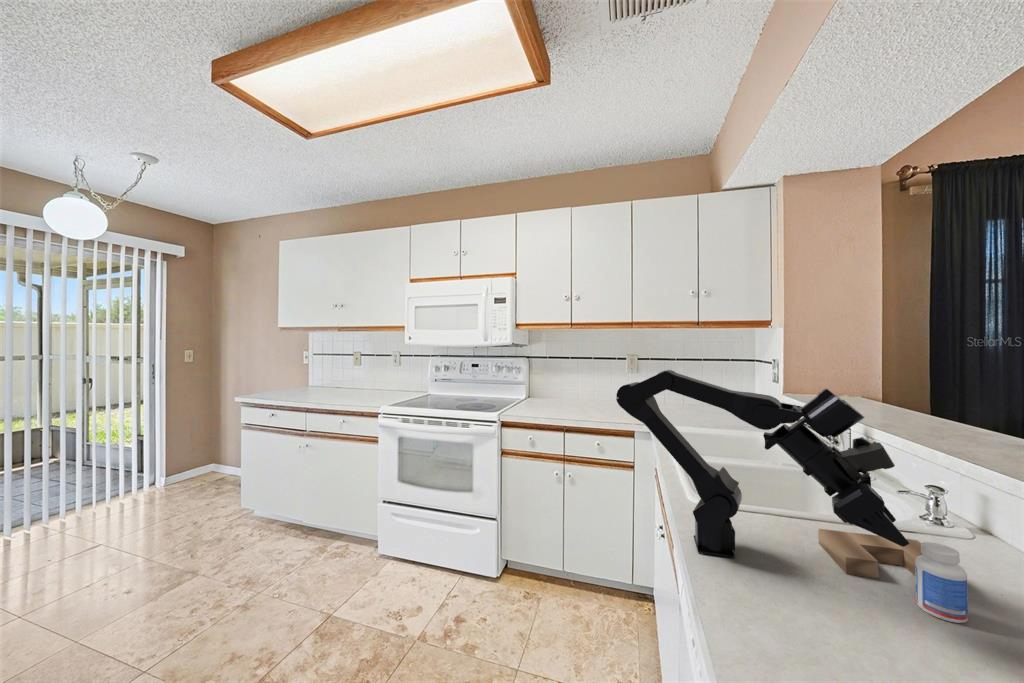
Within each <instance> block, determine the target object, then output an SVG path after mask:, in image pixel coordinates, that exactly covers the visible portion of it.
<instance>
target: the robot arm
mask: <svg viewBox="0 0 1024 683" xmlns="http://www.w3.org/2000/svg"><path fill="white" fill-rule="evenodd" d="M664 391H670V392H673V393H676V394H678V395H681V396H685V397H687V398H690V399H693V400H696V401H698V402H702V403H705V404H707V405H711V406H713V407H716V408H719V409H723V410H725V411H726V412H729V413H730V414H731V415H733V416H735V417H737V419H739V420H741V421H743V422H745V423H747V424H749V425H751V426H753V427H754V428H756V429H759V430H763V431H765V432H764V433H763V435H762V436H763V439H764V449H765V450H767V451H768V450H771V448H773V447H774V446H776V445H777V446H778V447H779V448H780V449H782V450H783V451H784V452H785V454H787V455H788V456H789V457H790V458H791V459H792V460H793V461H795V462H796V463H797V464H798V465H799V466H800V467H801V468H802V473H804V474H805V475H806V476H808V477H809V476H811V477H812V478H813V479H814V480H815V481H816V482H817V483H818V484H819V485H820V486H822V488H823V490H824V493H825V494H826V495H828V496H829V497H831V496H832V497H831V506H832V510H833V514H834V515H836V516H837V517H838V518H839V519H840V520H841V521H842V522H843V523H845V524H847V523H848V524H849V525H854V526H855V527H859V528H861V529H862V530H865V531H867V532H870V533H872V534H873V535H877V536H881V537H883V538H885V539H887V540H889V541H891V542H893V543H895V544H898V545H900V546H902V547H904V546H906V545H908V544H909V542H908V541H907V539H908V538H906V537H905V536H904V535H903V533H902V531H900V530H899V529H898V527H897V526H896V525H895V524H894V523H895V522H896V521H897V520H896V518H895V517H894V515H893V513H891V512H890V510H889V508H887V506H886V505H885V501H884V499H883V497H882V496H881V495H880V494H879V492H877V491H876V490H875V489H874V488H873V487H872V480H871V479H872V477H871V476H870V474H869V472H872V471H878V470H882V469H883V470H889V469H893V468H894V467H895V466H896V465H895V463H894V462H893V459H892V458H891V457H890V455H889V453H888V452H887V450H886V448H885V447H884V445H883V444H882V443H881V442H877V441H872V442H870V441H869V440H867V439H866V438H865V437H863V436H861V437H857V438H853V439H852V447H848V448H847V449H845V450H841V451H839V449H837V448H836V447H835V446H831V445H828V444H827V443H825V441H823V440H822V439H821V437H823V438H825V437H827V438H828V437H832V438H833V439H835V438H837V437H839V436H840V435H842V434H843V433H844V432H846V431H847V430H849V429H851V428H852V427H853V426H855V425H856V424H858V423H859V422H861V421H862V420H864V419H865V416H864V415H863V414H862V413H860V412H859V411H858V410H857V409H856V408H855V407H853V406H852V405H851V404H850V403H849V402H847V400H845V399H842V398H840V397H839V396H838V395H837V394H835V393H834V392H832V391H831V390H830V389H829V388H827V387H826V388H823V389H822V390H820V392H818V393H817V395H816V396H815V397H814V398H812V399H811V400H809V402H807V403H806V404H804V405H796V404H790V403H785V402H781V401H780V400H779V399H777V398H776V397H774V396H772V395H768V394H762V393H757V392H756V393H755V392H748V391H738V390H732V389H728V388H726V387H722V386H719V385H716V384H712V383H710V382H706V381H703V380H700V379H697V378H694V377H690V376H687V375H684V374H682V373H677V372H676V371H675V370H672V369H666V370H662V371H659V372H658V373H657V374H655V375H653V376H651V377H649V378H647V379H645V380H643V381H640V382H638V381H635V382H630V383H627V384H624V385H622V386H620V387H619V389H618V390H617V393H616V397H615V398H616V402H617V405H618V406H619V407H620V408H621V409H623V411H625V412H626V413H627V414H628V415H629V416H630V417H632V418H634V419H636V420H638V421H639V422H640V423H642V424H644V425H645V427H647V429H648V430H649V431H650V432H651V433H652V434H653V436H654V437H655V438H656V439H657V441H659V443H660V444H661V445H662V447H664V448H665V449H666V450H667V452H668V453H669V454H670V455H671V457H673V459H674V460H675V461H676V463H677V464H678V465H679V466H680V467H681V468H682V469H683V471H684V472H685V473H686V474H687V475H688V477H690V479H691V481H692V483H693V484H694V485H693V486H694V487H695V489H696V492H697V494H698V496H699V498H700V499H699V501H698V502H697V504H696V505H695V507H694V509H693V511H692V514H693V517H694V530H695V532H694V535H693V539H694V544H695V548H696V551H697V553H699V554H705V555H710V556H717V557H724V558H730V559H731V558H732V559H735V553H734V551H736V530H735V528H734V526H733V522H732V521H731V518H733V517H734V516H735V515H736V514H737V513H738V511H739V508H740V505H741V503H742V500H743V499H742V498H743V495H742V494H743V493H742V491H741V489H740V487H739V485H740V483H739V481H737V480H735V479H734V478H733V477H732V476H731V475H730V473H729V472H728V470H727V469H726V468H725V467H724V466H721V468H720V469H719V470H718V469H716V468H715V467H713V466H711V465H710V464H708V462H707V461H706V460H705V459H704V458H703V457H702V456H701V455H700V454H699V452H697V450H696V449H695V448H694V447H693V446H692V445H691V443H689V441H687V439H686V438H685V437H684V436H683V435H682V433H680V431H679V430H678V429H677V428H676V426H674V424H672V422H671V421H670V420H669V419H668V418H667V417H666V415H664V414H663V412H662V411H661V409H660V406H659V404H658V402H657V400H656V398H655V396H656V395H658V394H660V393H662V392H664ZM787 424H792V425H790V426H789V425H787ZM805 424H807V425H808V426H809V427H810V428H811V429H812V430H813V431H814V432H816V433H817V434H818V435H820V436H821V437H818V436H817V434H815V433H814V432H813V431H812V430H810V428H808V427H807V426H806V425H805ZM780 425H781V426H780ZM778 426H780V427H778ZM777 427H778V428H777ZM776 428H777V429H776ZM773 429H775V430H774V431H772V432H766V431H770V430H773ZM834 494H835V495H834Z"/></svg>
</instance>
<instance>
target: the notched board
mask: <svg viewBox="0 0 1024 683" xmlns="http://www.w3.org/2000/svg"><path fill="white" fill-rule="evenodd" d="M817 533H818V539H817V540H818V545H820V546H821V547H822V549H823V550H824V551H825V552H826V553H827V554H828V556H830V558H831V559H832V560H833V561H834V563H836V564H837V566H838V567H839V568H840V569H841V570H842V571H843V573H844V574H846V575H852V576H859V577H866V578H873V579H879V564H886V565H896V566H903V567H904V568H905V569H907V570H908V571H909V572H910V573H911V574H912V575H913V576H915V559H916V557H918V556H920V555H923V554H922V553H921V543H922V542H921V541H919V540H918V539H910V538H906V539H907V541H908V542H909V544H908V545H906V546H904V547H902V546H900V545H898V544H895V543H893V542H891V541H889V540H887V539H885V538H883V537H881V536H878V535H876V534H867V533H861V532H860V533H858V532H850V531H841V530H833V529H823V528H818V532H817Z"/></svg>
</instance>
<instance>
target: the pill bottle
mask: <svg viewBox="0 0 1024 683" xmlns="http://www.w3.org/2000/svg"><path fill="white" fill-rule="evenodd" d="M920 543H921V553H922V554H923V555H920V556H918V557H916V559H915V575H914V576H915V579H914V580H915V602H916V604H917V606H918V607H919V608H920V609H921V610H923V611H924V612H926V613H927V614H929V615H930V616H933V617H936V618H938V619H940V620H944V621H947V622H951V623H957V624H963V623H966V622H968V621H969V602H968V601H969V600H968V596H969V595H968V593H969V592H968V590H969V588H968V573H967V571H966V570H965V568H963V567H962V566H961V565H960V561H961V559H960V552H959V551H958V550H956V548H953V547H950V546H948V545H946V544H941V543H938V542H931V541H924V542H920Z"/></svg>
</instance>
